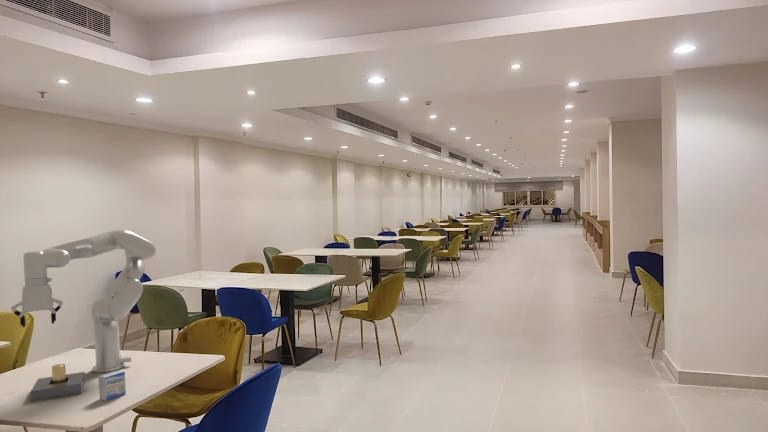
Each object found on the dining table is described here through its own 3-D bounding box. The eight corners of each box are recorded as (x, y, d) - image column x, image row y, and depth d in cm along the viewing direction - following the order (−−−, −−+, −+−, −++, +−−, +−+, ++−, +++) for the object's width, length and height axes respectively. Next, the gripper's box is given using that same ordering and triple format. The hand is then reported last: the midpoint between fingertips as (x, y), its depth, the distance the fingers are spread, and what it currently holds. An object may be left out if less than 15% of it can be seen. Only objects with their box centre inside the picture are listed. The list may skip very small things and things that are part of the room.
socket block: (84, 381, 211) (84, 371, 211) (81, 393, 196) (80, 383, 196) (38, 388, 204) (38, 378, 204) (31, 401, 189) (30, 391, 189)
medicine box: (105, 401, 188) (104, 377, 188) (99, 399, 190) (97, 375, 190) (126, 394, 194) (125, 371, 194) (119, 392, 197) (118, 369, 197)
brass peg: (67, 388, 203) (65, 363, 203) (65, 391, 199) (64, 366, 199) (54, 390, 201) (52, 365, 201) (52, 393, 197) (51, 368, 197)
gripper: (62, 279, 212) (64, 320, 212) (11, 283, 203) (13, 326, 204) (61, 281, 205) (63, 323, 206) (8, 285, 197) (10, 330, 197)
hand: (38, 324), depth 205 cm, fingers open, 9 cm apart
